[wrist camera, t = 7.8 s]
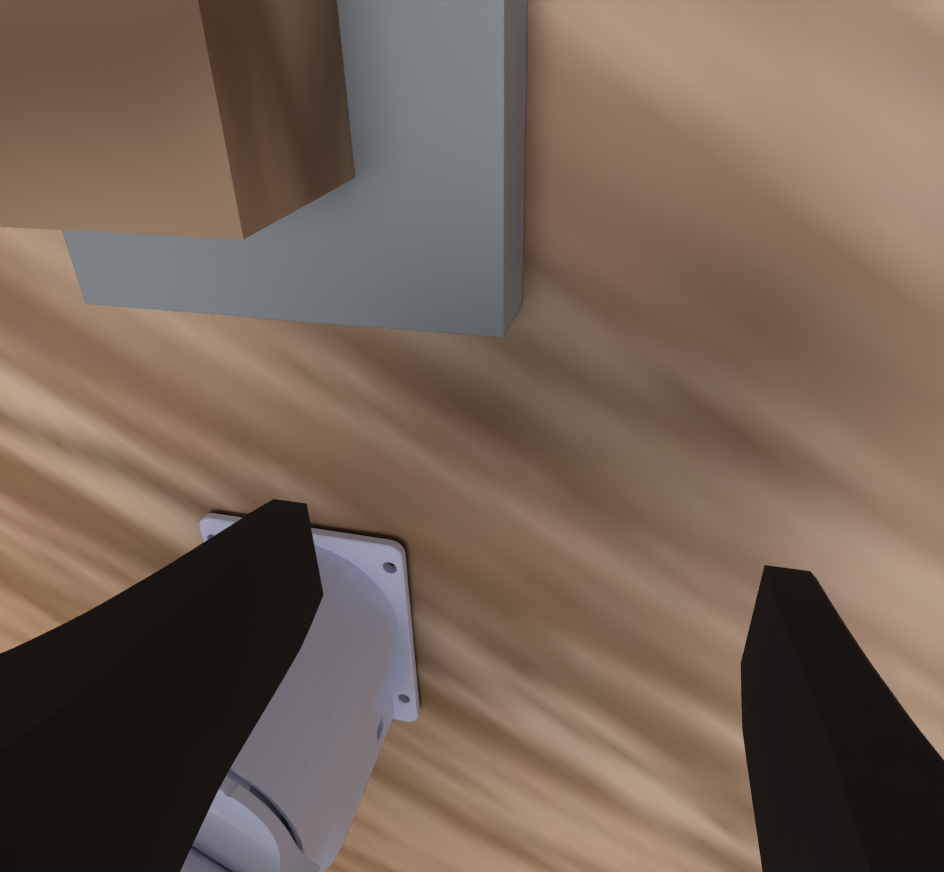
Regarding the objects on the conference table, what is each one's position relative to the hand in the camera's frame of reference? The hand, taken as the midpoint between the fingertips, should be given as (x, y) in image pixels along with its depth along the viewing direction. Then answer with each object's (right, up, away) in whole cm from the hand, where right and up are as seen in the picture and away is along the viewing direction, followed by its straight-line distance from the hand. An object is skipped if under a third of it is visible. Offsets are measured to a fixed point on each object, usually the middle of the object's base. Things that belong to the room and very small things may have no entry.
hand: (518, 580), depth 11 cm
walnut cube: (-6, +11, +4) cm, 13 cm away
